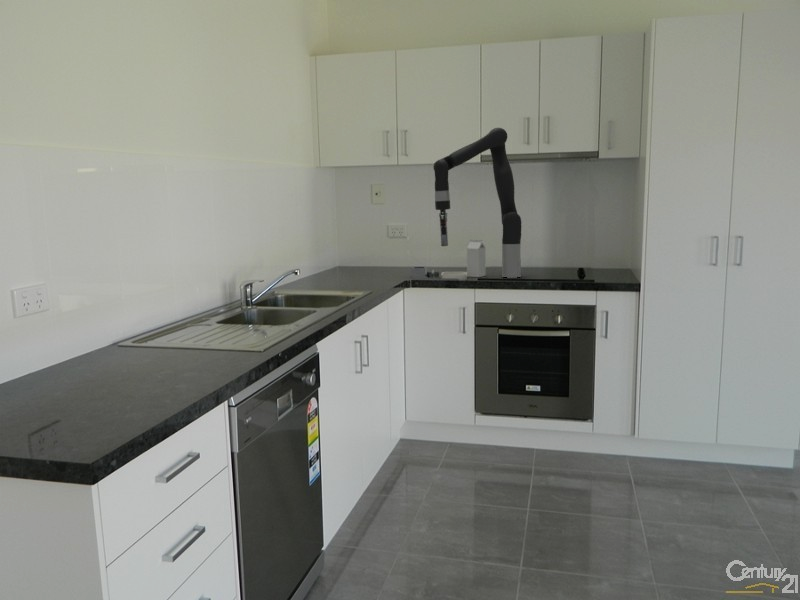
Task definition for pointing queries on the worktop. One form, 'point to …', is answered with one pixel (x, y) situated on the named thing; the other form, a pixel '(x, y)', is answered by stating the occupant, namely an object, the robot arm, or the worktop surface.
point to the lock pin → (444, 237)
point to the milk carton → (475, 259)
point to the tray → (455, 275)
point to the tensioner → (424, 273)
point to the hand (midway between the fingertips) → (444, 234)
